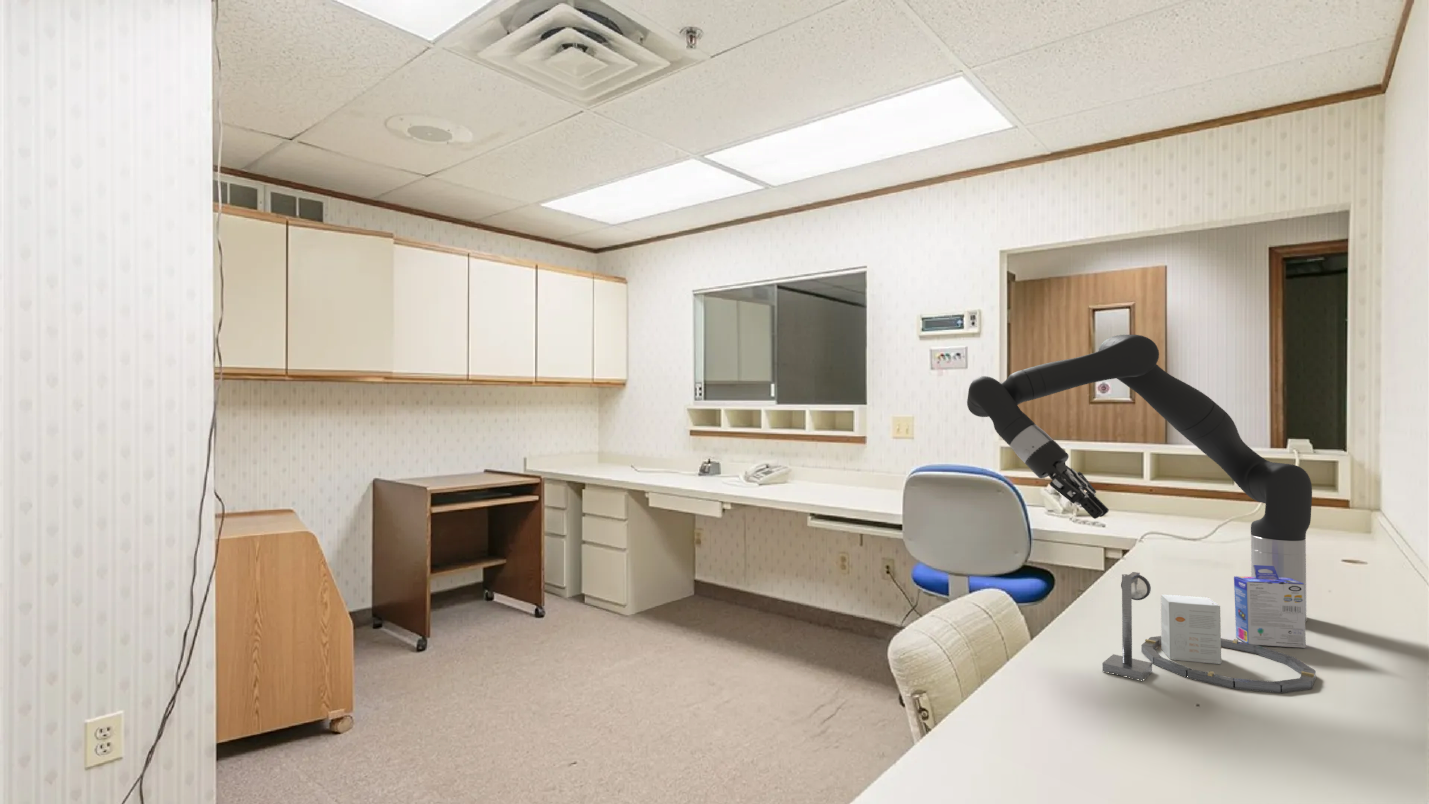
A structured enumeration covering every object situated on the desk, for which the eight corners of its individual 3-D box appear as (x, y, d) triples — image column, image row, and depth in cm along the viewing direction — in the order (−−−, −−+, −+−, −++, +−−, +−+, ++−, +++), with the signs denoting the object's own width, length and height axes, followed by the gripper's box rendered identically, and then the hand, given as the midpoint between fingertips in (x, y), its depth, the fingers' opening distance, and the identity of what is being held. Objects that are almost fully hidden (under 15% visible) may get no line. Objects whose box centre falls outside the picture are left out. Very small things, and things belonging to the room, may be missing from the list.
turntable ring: (1162, 632, 139) (1162, 625, 139) (1321, 664, 122) (1321, 655, 122) (1127, 664, 122) (1127, 655, 122) (1306, 705, 105) (1306, 695, 105)
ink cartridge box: (1290, 639, 135) (1289, 565, 135) (1308, 649, 129) (1307, 571, 129) (1232, 636, 137) (1232, 563, 137) (1248, 645, 131) (1247, 569, 131)
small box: (1210, 654, 127) (1210, 597, 127) (1222, 665, 121) (1221, 605, 122) (1160, 649, 129) (1159, 593, 129) (1169, 659, 124) (1168, 601, 124)
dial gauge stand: (1118, 658, 125) (1117, 566, 125) (1156, 667, 120) (1155, 572, 121) (1102, 671, 118) (1101, 575, 119) (1142, 681, 114) (1141, 581, 114)
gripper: (1038, 440, 140) (1106, 506, 131) (1063, 437, 149) (1127, 499, 141) (1012, 464, 143) (1076, 531, 135) (1038, 461, 153) (1099, 522, 144)
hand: (1102, 514), depth 138 cm, fingers open, 3 cm apart
